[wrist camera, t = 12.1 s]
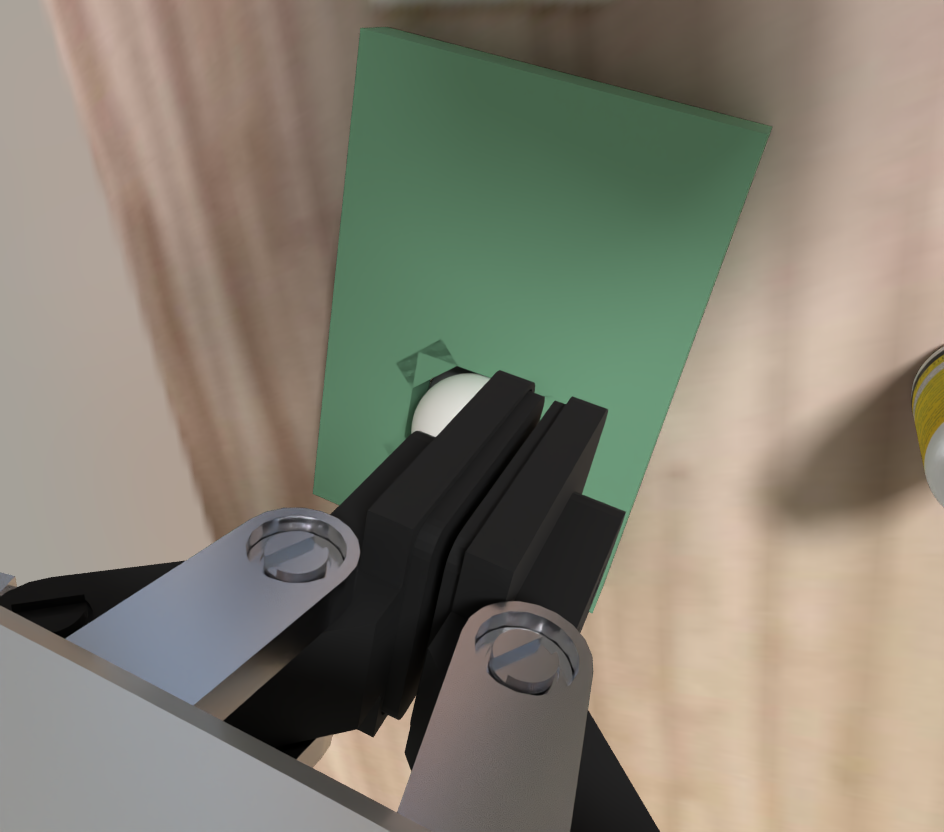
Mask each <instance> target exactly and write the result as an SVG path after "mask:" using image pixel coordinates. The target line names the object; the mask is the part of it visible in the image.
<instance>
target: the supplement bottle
mask: <svg viewBox="0 0 944 832" xmlns="http://www.w3.org/2000/svg"><path fill="white" fill-rule="evenodd" d="M911 407H912V412H913V417H914V422H915V427H916V431H917V436H918V442H919V447H920V452H921V457H922V462H923V466H924V471H925V475H926V479H927V482H928V484H929V487H930V489H931V491H932V493H933V495H934V497H935V498H936V499H937V501H938V502H939V503H940V504H941V505H942V506H943V507H944V346H943V347H942V348H940V349H939V350H937V351H936V352H935V353H933V354H932V355H931V356H930V357H929V358H928V359H927V360H926V361H925V362H924V364H923V365H922V366H921V368H920V369H919V371H918V373H917V375H916V377H915V379H914V382H913V386H912V392H911Z"/></svg>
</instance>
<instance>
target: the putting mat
mask: <svg viewBox="0 0 944 832" xmlns="http://www.w3.org/2000/svg"><path fill="white" fill-rule="evenodd" d="M771 129H772V127H771V126H768V125H764V124H760V123H756V122H752V121H748V120H744V119H740V118H737V117H733V116H729V115H725V114H721V113H717V112H713V111H710V110H706V109H702V108H698V107H694V106H690V105H686V104H683V103H679V102H675V101H671V100H667V99H663V98H659V97H655V96H652V95H648V94H644V93H640V92H636V91H632V90H628V89H625V88H621V87H617V86H613V85H609V84H605V83H601V82H598V81H594V80H590V79H586V78H582V77H578V76H574V75H570V74H567V73H563V72H559V71H555V70H551V69H547V68H543V67H540V66H536V65H532V64H528V63H524V62H520V61H516V60H513V59H509V58H505V57H501V56H497V55H493V54H489V53H485V52H482V51H478V50H474V49H470V48H466V47H462V46H458V45H455V44H451V43H447V42H443V41H439V40H435V39H431V38H428V37H424V36H420V35H416V34H412V33H408V32H404V31H401V30H397V29H393V28H389V27H375V28H360V38H359V48H358V57H357V67H356V77H355V87H354V96H353V106H352V116H351V126H350V135H349V145H348V155H347V165H346V174H345V184H344V194H343V204H342V213H341V223H340V233H339V243H338V252H337V262H336V272H335V282H334V291H333V301H332V311H331V321H330V331H329V340H328V350H327V360H326V370H325V379H324V389H323V399H322V409H321V418H320V428H319V438H318V448H317V457H316V467H315V477H314V487H313V494H315V495H317V496H319V497H322V498H324V499H326V500H329V501H331V502H333V503H336V504H338V505H340V504H341V503H342V502H343V501H344V500H345V499H346V498H347V497H348V496H349V495H350V494H351V493H352V492H353V491H354V490H355V489H356V488H357V487H358V486H359V485H360V484H361V483H362V482H363V481H364V480H365V479H366V478H367V477H368V476H369V475H370V474H371V473H372V472H373V471H374V470H375V469H376V468H377V467H378V466H379V465H380V464H381V463H382V462H383V461H384V460H385V459H386V458H387V457H388V456H389V455H390V454H391V453H392V452H393V451H394V450H395V449H396V448H397V447H398V446H399V445H400V444H401V443H402V442H403V441H404V440H405V439H406V438H407V437H408V436H409V435H411V429H412V421H413V416H414V413H415V410H416V408H417V406H418V404H419V402H420V400H421V399H422V397H423V396H424V395H425V394H426V393H427V391H428V390H429V389H430V388H432V387H433V386H434V385H435V384H437V383H438V382H440V381H441V380H444V379H446V378H448V377H451V376H454V375H458V374H464V373H475V374H481V375H483V376H486V377H489V378H491V377H492V376H493V375H494V374H495V373H496V372H497V371H499V370H501V371H504V372H507V373H510V374H512V375H515V376H518V377H521V378H524V379H526V380H529V381H532V382H535V392H534V393H536V394H539V395H542V396H545V403H544V407H543V411H542V414H541V418H542V417H543V416H544V414H545V413H546V411H547V410H548V409H549V407H550V406H551V405H552V403H553V402H554V401H558V402H561V403H564V404H567V402H568V401H569V399H570V398H571V397H572V396H573V397H576V398H579V399H582V400H584V401H587V402H590V403H593V404H595V405H598V406H601V407H604V408H606V409H608V414H607V418H606V422H605V425H604V428H603V431H602V434H601V437H600V440H599V443H598V446H597V450H596V453H595V456H594V459H593V462H592V465H591V468H590V471H589V474H588V477H587V480H586V484H585V487H584V490H583V493H582V495H585V496H587V497H590V498H593V499H595V500H598V501H600V502H603V503H605V504H608V505H610V506H613V507H616V508H618V509H621V510H623V511H626V514H625V517H624V520H623V523H622V526H621V528H620V531H619V534H618V537H617V539H616V542H615V545H614V548H613V550H612V553H611V556H610V559H609V561H608V564H607V567H606V569H605V572H604V574H603V577H602V580H601V582H600V585H599V588H598V590H597V593H596V595H595V598H594V600H593V603H592V605H591V608H590V610H589V612H590V613H593V610H594V608H595V605H596V603H597V600H598V598H599V596H600V593H601V591H602V588H603V586H604V583H605V580H606V577H607V575H608V572H609V569H610V567H611V564H612V561H613V558H614V556H615V553H616V550H617V548H618V545H619V542H620V539H621V537H622V534H623V531H624V528H625V526H626V523H627V520H628V518H629V515H630V512H631V509H632V507H633V504H634V501H635V499H636V496H637V493H638V490H639V488H640V485H641V482H642V480H643V477H644V474H645V471H646V469H647V466H648V463H649V461H650V458H651V455H652V452H653V450H654V447H655V444H656V442H657V439H658V436H659V433H660V431H661V428H662V425H663V423H664V420H665V417H666V414H667V412H668V409H669V406H670V404H671V401H672V398H673V395H674V393H675V390H676V387H677V385H678V382H679V379H680V376H681V374H682V371H683V368H684V366H685V363H686V360H687V357H688V355H689V352H690V349H691V347H692V344H693V341H694V338H695V336H696V333H697V330H698V328H699V325H700V322H701V319H702V317H703V314H704V311H705V309H706V306H707V303H708V300H709V298H710V295H711V292H712V290H713V287H714V284H715V281H716V279H717V276H718V273H719V271H720V268H721V265H722V262H723V260H724V257H725V254H726V252H727V249H728V246H729V243H730V241H731V238H732V235H733V232H734V230H735V227H736V224H737V222H738V219H739V216H740V213H741V211H742V208H743V205H744V203H745V200H746V197H747V194H748V192H749V189H750V186H751V184H752V181H753V178H754V175H755V173H756V170H757V167H758V165H759V162H760V159H761V156H762V154H763V151H764V148H765V146H766V143H767V140H768V137H769V135H770V132H771ZM432 378H434V379H433V381H432V382H431V384H430V380H431V379H432ZM429 385H430V387H429ZM541 418H540V420H541Z"/></svg>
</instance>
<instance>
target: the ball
mask: <svg viewBox="0 0 944 832" xmlns="http://www.w3.org/2000/svg"><path fill="white" fill-rule="evenodd" d="M489 379H490V378H489V377H486V376H483V375H481V374H475V373H464V374H458V375H454V376H451V377H448V378H446V379H444V380H441V381H440V382H438V383H437V384H435V385H434V386H433V387H432V388H430V389H429V390H428V391H427V393H426V394H425V395H424V396H423V397H422V399H421V400H420V402H419V404H418V406H417V408H416V410H415V413H414V416H413V421H412V429H411V434H412V433H413V432H415V431H422V432H424V433H427V434H429V435H432V436H434V437H436V436H437V435H438V434H439V433H440V432H441V431H442V430H443V429H444V428H445V427H446V426H447V425H448V423H449V422H450V421H451V420H452V419H453V418H454V417H455V416H456V415H457V414H458V413H459V412H460V411H461V410H462V408H463V407H464V406H465V405H466V404H467V403H468V402H469V401H470V400H471V399H472V398H473V397H474V396H475V395H476V393H477V392H478V391H479V390H480V389H481V388H482V387H483V386H484V385H485V384H486V383H487V382H488V381H489Z"/></svg>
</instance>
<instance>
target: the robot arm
mask: <svg viewBox="0 0 944 832" xmlns="http://www.w3.org/2000/svg"><path fill="white" fill-rule="evenodd" d="M534 392H535V382H532V381H529V380H526V379H524V378H521V377H518V376H515V375H512V374H510V373H507V372H504V371H501V370H499V371H497V372H496V373H495V374H494V375H493V376H492V377H491V378H490V379H489V381H488V382H487V383H486V384H485V385H484V386H483V387H482V388H481V389H480V390H479V391H478V392H477V393H476V395H475V396H474V397H473V398H472V399H471V400H470V401H469V402H468V403H467V404H466V405H465V406H464V407H463V408H462V410H461V411H460V412H459V413H458V414H457V415H456V416H455V417H454V418H453V419H452V420H451V421H450V422H449V423H448V425H447V426H446V427H445V428H444V429H443V430H442V431H441V432H440V433H439V434H438V435H437V436H436V437H434V436H432V435H429V434H427V433H424V432H422V431H415V432H413V433H412V434H411V435H409V436H408V437H407V438H406V439H405V440H404V441H403V442H402V443H401V444H400V445H399V446H398V447H397V448H396V449H395V450H394V451H393V452H392V453H391V454H390V455H389V456H388V457H387V458H386V459H385V460H384V461H383V462H382V463H381V464H380V465H379V466H378V467H377V468H376V469H375V470H374V471H373V472H372V473H371V474H370V475H369V476H368V477H367V478H366V479H365V480H364V481H363V482H362V483H361V484H360V485H359V486H358V487H357V488H356V489H355V490H354V491H353V492H352V493H351V494H350V495H349V496H348V497H347V498H346V499H345V500H344V501H343V502H342V503H341V504H340V505H339V506H338V507H337V508H336V509H335V510H334V511H333V512H332V513H331V514H330V515H329V514H327V513H324V512H322V511H317V510H312V509H307V508H281V509H277V510H272V511H267V512H264V513H262V514H260V515H258V516H256V517H254V518H252V519H250V520H248V521H247V522H245V523H244V524H242V525H240V526H239V527H237V528H236V529H234V530H233V531H231V532H230V533H228V534H226V535H225V536H223V537H222V538H220V539H219V540H217V541H216V542H214V543H213V544H211V545H209V546H208V547H206V548H205V549H203V550H202V551H200V552H199V553H197V554H195V555H194V556H192V557H191V558H189V559H188V560H186V561H179V562H171V563H164V564H155V565H147V566H139V567H130V568H123V569H115V570H106V571H98V572H90V573H82V574H74V575H65V576H58V577H51V578H46V579H41V580H37V581H33V582H28V583H26V584H24V585H22V586H19V587H17V584H16V578H15V576H12V575H8V574H4V573H0V832H660V831H659V829H658V827H657V826H656V824H655V822H654V821H653V819H652V817H651V816H650V814H649V812H648V811H647V809H646V807H645V805H644V804H643V802H642V800H641V799H640V797H639V795H638V794H637V792H636V790H635V789H634V787H633V785H632V783H631V782H630V780H629V778H628V777H627V775H626V773H625V772H624V770H623V768H622V767H621V765H620V763H619V761H618V760H617V758H616V756H615V755H614V753H613V751H612V750H611V748H610V746H609V745H608V743H607V741H606V739H605V738H604V736H603V734H602V733H601V731H600V729H599V728H598V726H597V724H596V723H595V721H594V719H593V717H592V716H591V714H590V712H589V711H588V705H589V699H590V692H591V685H592V678H593V658H592V654H591V652H590V649H589V647H588V645H587V642H586V640H585V639H584V638H583V636H582V635H581V634H580V632H581V630H582V627H583V625H584V622H585V620H586V618H587V615H588V613H589V610H590V608H591V605H592V603H593V600H594V598H595V595H596V593H597V590H598V588H599V585H600V582H601V580H602V577H603V574H604V572H605V569H606V567H607V564H608V561H609V559H610V556H611V553H612V550H613V548H614V545H615V542H616V539H617V537H618V534H619V531H620V528H621V526H622V523H623V520H624V517H625V514H626V511H623V510H621V509H618V508H616V507H613V506H610V505H608V504H605V503H603V502H600V501H598V500H595V499H593V498H590V497H587V496H585V495H582V493H583V490H584V487H585V484H586V480H587V477H588V474H589V471H590V468H591V465H592V462H593V459H594V456H595V453H596V450H597V446H598V443H599V440H600V437H601V434H602V431H603V428H604V425H605V422H606V418H607V414H608V409H606V408H604V407H601V406H598V405H595V404H593V403H590V402H587V401H584V400H582V399H579V398H576V397H573V396H572V397H571V398H570V399H569V401H568V402H567V404H564V403H561V402H558V401H554V402H553V403H552V405H551V406H550V407H549V409H548V410H547V411H546V413H545V414H544V416H543V417H542V418H541V414H542V411H543V407H544V403H545V396H542V395H539V394H536V393H534ZM540 418H541V420H540ZM415 696H416V699H415V703H414V708H413V712H412V717H411V722H410V725H411V726H410V731H409V735H408V740H407V744H406V749H405V755H406V758H407V761H408V763H409V766H410V769H411V775H410V777H409V780H408V783H407V786H406V789H405V792H404V794H403V797H402V800H401V803H400V806H399V808H398V811H397V812H395V811H393V810H391V809H389V808H387V807H385V806H383V805H382V804H380V803H378V802H376V801H374V800H372V799H370V798H368V797H366V796H365V795H363V794H361V793H359V792H357V791H355V790H353V789H351V788H349V787H347V786H346V785H344V784H342V783H340V782H338V781H336V780H334V779H332V778H330V777H328V776H327V775H325V774H323V773H321V772H319V771H317V770H315V769H313V767H314V766H315V765H316V763H317V762H318V761H319V760H320V759H321V758H322V757H323V755H324V754H325V752H326V751H327V749H328V748H329V746H330V744H331V740H332V736H333V734H338V733H342V732H347V731H351V730H355V729H358V730H360V731H362V732H364V733H366V734H368V735H369V736H371V737H374V736H375V734H376V732H377V731H378V729H379V728H380V726H381V725H382V723H383V721H384V720H385V718H386V717H387V715H389V716H392V717H394V718H396V719H398V720H400V719H401V718H402V717H403V715H404V714H405V712H406V711H407V709H408V708H409V706H410V704H411V703H412V701H413V699H414V698H415Z"/></svg>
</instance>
